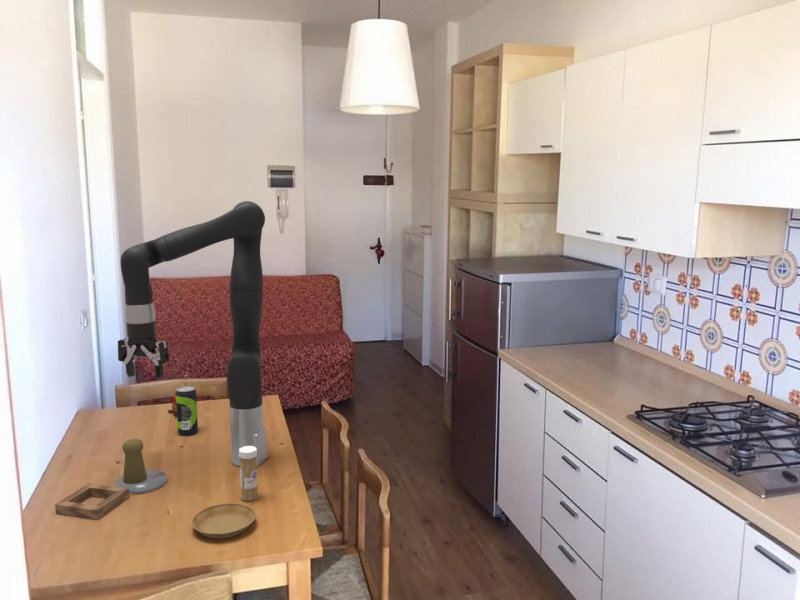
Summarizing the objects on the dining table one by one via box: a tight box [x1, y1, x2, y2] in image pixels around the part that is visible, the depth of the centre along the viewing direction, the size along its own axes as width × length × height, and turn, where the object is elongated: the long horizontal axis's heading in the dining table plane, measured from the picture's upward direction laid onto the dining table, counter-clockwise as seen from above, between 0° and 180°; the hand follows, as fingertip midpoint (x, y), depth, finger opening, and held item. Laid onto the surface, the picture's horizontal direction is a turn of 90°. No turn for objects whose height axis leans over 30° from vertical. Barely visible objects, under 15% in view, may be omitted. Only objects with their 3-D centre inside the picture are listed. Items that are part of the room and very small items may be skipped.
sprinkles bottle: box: [239, 446, 259, 502], centre depth 172 cm, size 5×5×13 cm
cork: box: [122, 438, 147, 484], centre depth 180 cm, size 6×6×11 cm
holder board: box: [54, 482, 130, 521], centre depth 169 cm, size 12×12×2 cm
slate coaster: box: [114, 469, 168, 495], centre depth 181 cm, size 13×13×1 cm
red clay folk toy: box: [171, 372, 190, 418], centre depth 233 cm, size 8×7×15 cm
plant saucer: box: [191, 502, 257, 540], centre depth 159 cm, size 15×15×3 cm
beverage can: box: [175, 385, 199, 437], centre depth 216 cm, size 6×6×15 cm
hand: (145, 376), depth 185 cm, fingers open, 8 cm apart
